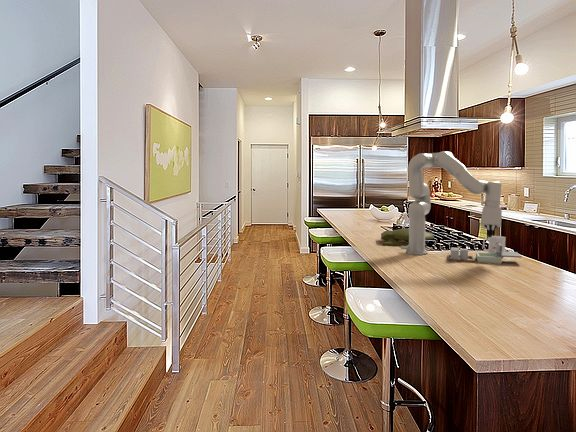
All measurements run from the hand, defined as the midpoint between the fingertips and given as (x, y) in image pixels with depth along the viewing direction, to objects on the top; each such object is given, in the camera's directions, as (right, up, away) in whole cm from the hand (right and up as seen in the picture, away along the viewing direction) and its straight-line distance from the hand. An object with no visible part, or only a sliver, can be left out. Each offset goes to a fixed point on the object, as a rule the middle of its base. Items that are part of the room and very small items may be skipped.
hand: (489, 236), depth 270 cm
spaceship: (-31, -7, +62) cm, 70 cm away
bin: (0, -14, +1) cm, 14 cm away
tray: (-14, -13, +5) cm, 20 cm away
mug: (+9, -12, +17) cm, 23 cm away
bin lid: (+9, -10, -2) cm, 14 cm away
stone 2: (-19, -13, +3) cm, 23 cm away
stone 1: (-17, -13, +8) cm, 23 cm away
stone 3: (-13, -13, +5) cm, 19 cm away
